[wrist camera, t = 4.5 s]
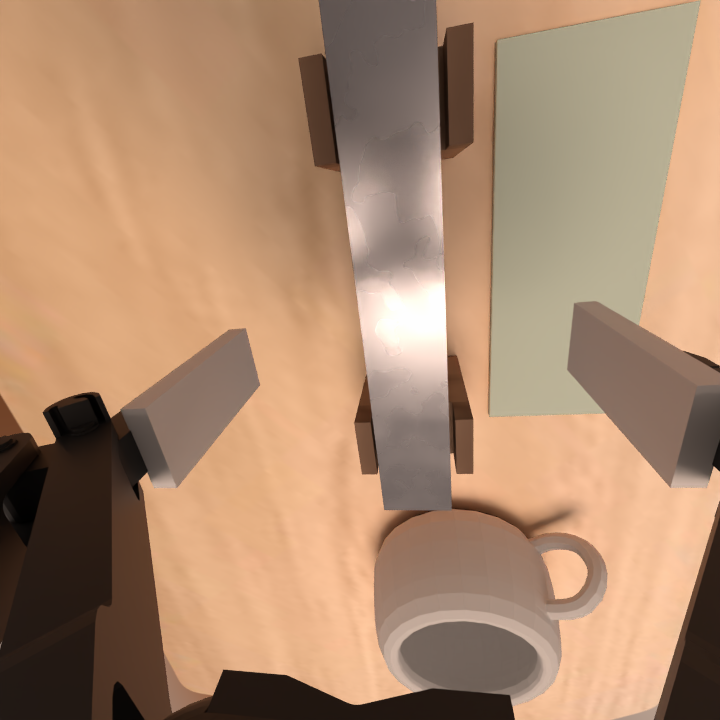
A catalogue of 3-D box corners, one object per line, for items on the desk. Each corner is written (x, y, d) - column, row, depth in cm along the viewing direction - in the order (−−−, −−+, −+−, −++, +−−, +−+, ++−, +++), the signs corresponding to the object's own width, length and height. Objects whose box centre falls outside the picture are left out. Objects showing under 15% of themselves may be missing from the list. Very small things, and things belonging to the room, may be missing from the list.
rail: (388, 465, 26) (384, 510, 23) (338, 38, 17) (318, -4, 13) (446, 465, 26) (451, 510, 22) (430, 19, 16) (435, -31, 12)
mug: (433, 623, 44) (438, 735, 35) (345, 535, 40) (325, 637, 31) (617, 564, 37) (684, 687, 28) (532, 448, 32) (578, 548, 23)
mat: (488, 413, 31) (489, 416, 31) (495, 43, 21) (497, 39, 21) (619, 409, 30) (622, 412, 29) (693, 4, 20) (700, 0, 19)
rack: (375, 402, 32) (362, 474, 24) (338, 102, 23) (298, 58, 15) (457, 399, 31) (473, 473, 23) (451, 82, 22) (473, 22, 14)
